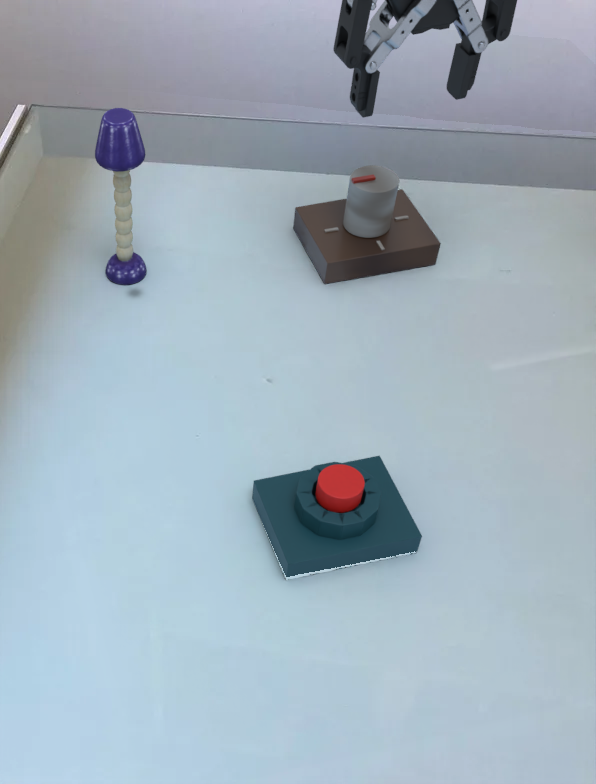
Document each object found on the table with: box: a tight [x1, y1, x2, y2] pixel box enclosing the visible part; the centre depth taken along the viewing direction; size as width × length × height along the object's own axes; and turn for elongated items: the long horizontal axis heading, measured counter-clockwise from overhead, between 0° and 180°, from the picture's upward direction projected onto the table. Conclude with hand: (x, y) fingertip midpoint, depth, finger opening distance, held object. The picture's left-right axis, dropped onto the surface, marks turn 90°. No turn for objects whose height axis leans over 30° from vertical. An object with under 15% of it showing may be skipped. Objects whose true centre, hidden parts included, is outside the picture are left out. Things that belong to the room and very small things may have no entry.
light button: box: [315, 464, 365, 513], centre depth 75 cm, size 4×4×2 cm
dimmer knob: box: [343, 164, 400, 238], centre depth 96 cm, size 5×5×5 cm
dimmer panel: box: [292, 188, 442, 285], centre depth 99 cm, size 12×10×3 cm
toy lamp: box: [94, 107, 147, 286], centre depth 92 cm, size 5×5×17 cm
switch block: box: [251, 455, 423, 577], centre depth 77 cm, size 11×9×4 cm
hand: (409, 103), depth 80 cm, fingers open, 8 cm apart
